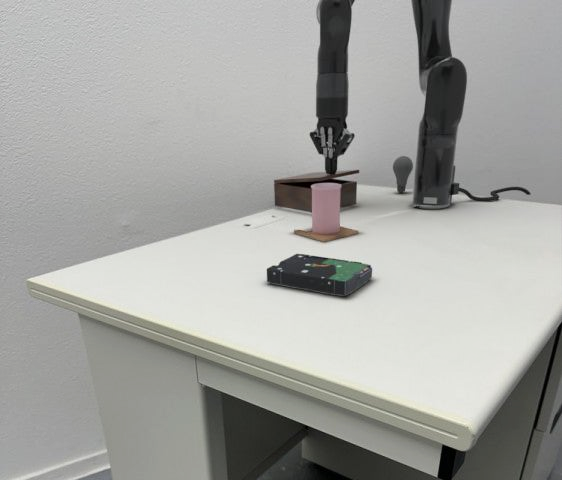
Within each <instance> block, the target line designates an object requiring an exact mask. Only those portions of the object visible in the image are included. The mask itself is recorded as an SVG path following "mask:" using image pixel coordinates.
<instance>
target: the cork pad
mask: <svg viewBox="0 0 562 480" xmlns="http://www.w3.org/2000/svg"><path fill="white" fill-rule="evenodd" d="M293 234H295V235H299V236H302V237H305V238H309V239H312V240H316V241H319V242H322V243H326V242H329V241H330V242H331V241H335V240H338V239H341V238H346V237H350V236H354V235H357V234H359V230H356V229H352V228H349V227H344V226H340V231H339V232H337V233H334V234H317V233H314V232H312V229H311V230H307V231H305V230H302V229H296V230H293Z"/></svg>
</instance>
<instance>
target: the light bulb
mask: <svg viewBox="0 0 562 480" xmlns="http://www.w3.org/2000/svg"><path fill="white" fill-rule="evenodd" d="M413 169H414V163H413V161H412V159H411V158H410V157H409V156H406V155H401V156H399V157H397V158H396V159H395V160H394V161H393V164H392V171H393V174H394V176H395V180H396V191H397V192H398V193H399V194H403V193H405V192H406V189H407V188H406V187H407V183H408V179H409V177H410V175H411V173H412V172H413Z"/></svg>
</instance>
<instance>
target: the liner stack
mask: <svg viewBox="0 0 562 480" xmlns="http://www.w3.org/2000/svg"><path fill="white" fill-rule="evenodd" d="M311 188H312V212H311V230H312V232H314V233H317V234H334V233H337V232H339V231H340V225H341V208H340V188H341V184H337V183H318V184H313V185H311Z"/></svg>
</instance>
